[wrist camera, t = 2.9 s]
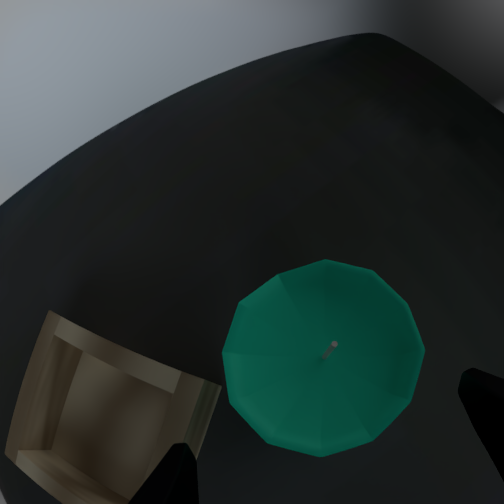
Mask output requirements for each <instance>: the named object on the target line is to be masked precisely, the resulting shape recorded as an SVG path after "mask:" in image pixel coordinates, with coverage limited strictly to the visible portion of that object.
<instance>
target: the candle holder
mask: <svg viewBox="0 0 504 504" xmlns="http://www.w3.org/2000/svg"><path fill="white" fill-rule="evenodd" d="M221 388H222V386H220V385H218V384H215V383H212V382H209V381H207V380H204V379H201V378H198V377H196V376H193V375H190V374H187V373H185V372H182V371H179V370H177V369H174V368H172V367H169V366H167V365H164V364H162V363H159V362H157V361H154V360H152V359H149V358H147V357H145V356H142V355H140V354H138V353H135V352H133V351H131V350H128V349H126V348H124V347H122V346H119V345H117V344H115V343H113V342H111V341H109V340H107V339H104V338H102V337H100V336H98V335H96V334H94V333H92V332H90V331H88V330H86V329H84V328H82V327H80V326H78V325H76V324H74V323H72V322H70V321H69V320H67V319H65V318H63V317H61V316H59V315H57V314H56V313H54V312H52V311H50V310H49V312H48V314H47V316H46V319H45V321H44V324H43V326H42V329H41V331H40V334H39V336H38V339H37V342H36V344H35V347H34V350H33V353H32V355H31V358H30V361H29V364H28V367H27V370H26V373H25V376H24V379H23V383H22V386H21V389H20V392H19V396H18V399H17V403H16V407H15V410H14V414H13V418H12V422H11V426H10V430H9V435H8V439H7V444H6V449H5V455H6V456H7V457H8V458H9V459H10V460H11V461H12V462H14V463H15V464H16V465H17V466H18V467H19V468H20V469H21V470H22V471H23V472H24V473H26V474H27V475H28V476H29V477H30V478H31V479H32V480H34V481H35V482H36V483H37V484H38V485H40V486H41V487H42V488H43V489H44V490H46V491H47V492H48V493H49V494H51V495H52V496H53V497H55V498H56V499H57V500H59V501H60V502H61V503H63V504H128V502H129V501H130V500H131V498H132V497H133V496H134V495H135V493H136V492H137V491H138V490H139V488H140V487H141V486H142V484H143V483H144V482H145V480H146V479H147V478H148V477H149V475H150V474H151V473H152V471H153V470H154V469H155V467H156V466H157V465H158V463H159V462H160V461H161V459H162V458H163V457H164V455H165V454H166V453H167V451H168V450H169V449H170V447H171V446H172V445H173V444H174V443H187V444H188V445H189V447H190V449H191V451H192V452H193V454H194V456H195V458H196V460H197V457H198V454H199V451H200V448H201V445H202V443H203V440H204V437H205V434H206V431H207V428H208V425H209V423H210V420H211V417H212V414H213V411H214V408H215V405H216V402H217V399H218V397H219V394H220V391H221Z"/></svg>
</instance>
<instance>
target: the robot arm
mask: <svg viewBox="0 0 504 504" xmlns="http://www.w3.org/2000/svg"><path fill="white" fill-rule="evenodd" d="M458 394H459V397H460V399H461V401H462V403H463V405H464V407H465V410H466V412H467V414H468V416H469V418H470V421H471V423H472V425H473V427H474V429H475V431H476V432H477V434H478V436H479V438H480V439H481V441H482V443H483V445H484V446H485V448H486V450H487V452H488V453H489V455H490V457H491V459H492V461H493V462H494V464H495V466H496V468H497V470H498V472H499V473H500V475H501V477H502V479H503V481H504V379H502V378H500V377H497V376H494V375H491V374H489V373H486V372H483V371H481V370H478V369H476V368H470V369H468V370H466V371H464V372H463V373H462V376H461V380H460V384H459V387H458ZM128 504H199V496H198V480H197V463H196V458H195V456H194V454H193V452H192V451H191V449H190V447H189V445H188V444H187V443H174V444H173V445H172V446H171V447H170V449H169V450H168V451H167V453H166V454H165V455H164V457H163V458H162V459H161V461H160V462H159V463H158V465H157V466H156V467H155V469H154V470H153V471H152V473H151V474H150V475H149V477H148V478H147V479H146V480H145V482H144V483H143V484H142V486H141V487H140V488H139V490H138V491H137V492H136V493H135V495H134V496H133V497H132V498H131V500H130V501H129V502H128Z"/></svg>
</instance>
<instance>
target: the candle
mask: <svg viewBox="0 0 504 504" xmlns="http://www.w3.org/2000/svg"><path fill="white" fill-rule="evenodd" d="M424 353H425V348H424V345H423V343H422V340H421V337H420V334H419V332H418V329H417V326H416V324H415V321H414V318H413V316H412V313H411V311H410V308H409V306H408V304H407V303H406V302H405V301H404V300H403V299H402V298H401V297H400V296H399V295H398V294H397V293H396V292H395V291H394V290H393V289H392V288H391V287H390V286H389V285H388V284H387V283H386V282H385V281H384V280H382V279H381V278H380V277H379V276H378V275H377V274H376V273H375V272H374V271H373V270H369V269H365V268H361V267H357V266H352V265H348V264H344V263H340V262H336V261H331V260H327V259H324V260H321V261H318V262H315V263H312V264H308V265H305V266H302V267H299V268H296V269H293V270H289V271H286V272H283V273H280V274H277V275H276V276H274V277H273V278H272V279H270V280H269V281H268V282H266V283H265V284H263V285H262V286H261V287H259V288H258V289H257V290H255V291H254V292H252V293H251V294H250V295H248V296H247V297H246V298H244V299H243V300H241V301H240V302H239V303H238V306H237V309H236V312H235V315H234V318H233V321H232V324H231V327H230V330H229V333H228V336H227V339H226V342H225V345H224V348H223V351H222V356H223V363H224V370H225V377H226V384H227V390H228V397H229V403H230V404H231V405H232V406H233V407H234V409H235V410H236V411H237V412H238V413H239V414H240V415H241V416H242V417H243V418H244V420H245V421H246V422H247V423H248V424H249V425H250V426H251V427H252V428H253V429H254V430H255V431H256V432H257V433H258V434H259V435H260V437H261V438H262V439H263V440H264V441H265V442H266V443H268V444H272V445H275V446H279V447H282V448H286V449H289V450H293V451H297V452H301V453H305V454H309V455H313V456H317V457H324V456H327V455H331V454H334V453H338V452H341V451H344V450H347V449H350V448H354V447H357V446H360V445H363V444H365V443H368V442H371V441H373V440H374V439H375V438H376V437H377V436H378V435H379V434H381V433H382V432H383V431H384V430H385V429H386V428H387V427H388V426H389V424H390V423H391V422H392V421H393V420H394V419H395V418H396V417H397V416H398V415H399V414H400V413H401V412H402V411H403V410H404V409H405V408H406V406H407V405H408V404H409V403H410V402H411V400H412V396H413V393H414V390H415V386H416V383H417V379H418V376H419V372H420V368H421V365H422V361H423V357H424Z"/></svg>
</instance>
